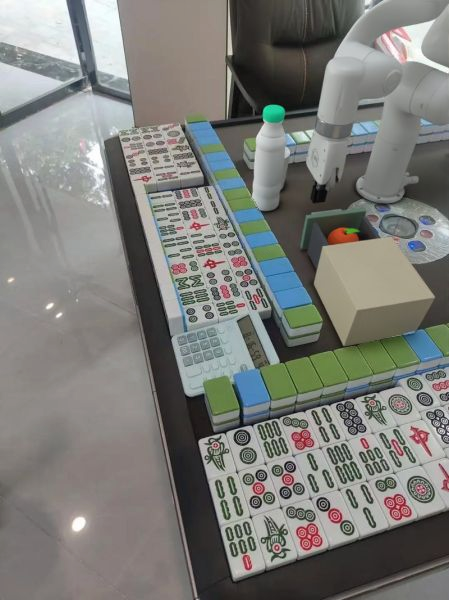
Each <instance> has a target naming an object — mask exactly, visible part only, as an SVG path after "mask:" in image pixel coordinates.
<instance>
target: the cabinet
mask: <svg viewBox="0 0 449 600" xmlns="http://www.w3.org/2000/svg"><path fill="white" fill-rule="evenodd" d="M313 286H314V288H315V290H316V292H317V294H318V296H319V298H320V300H321V302H322V304H323V306H324V308H325V310H326V312H327V315H328V316H329V317H328V318H329V319H330V321H331V324H332V325H333V327H334V329H335V331H336V333H337V336H338V337H339V339H340V342H341V344H342V346H343V347H349V346H354V345H360V344H366V343H371V342H370V341H372V342H376V341H375V340H377V341H381V340H380V339H383V338H387V337H392V336H396V335H402V334H404V333H407V332H411V331H416V330H418V328H419V327H420V326H421V323H422V321H423V320H424V318H425V317H426V315H427V313H428V312H429V310H430V308H431V306H432V304H433V302H434V300H435V299H436V296H435V295H434V293H433V292H432V291H431V289H430V288H429V287H428V285H427V284H426V283H425V281H424V280H423V278H422V277H421V275H420V274H419V273H418V271H417V269H416V268H415V267H414V266H413V264H412V262H411V261H410V260H409V258H408V257H407V255H406V254H405V253H404V252H403V250H402V249H401V248H400V246H399V244H398V243H397V242H396V241H395V239H394V237H393V236H387V237H380V238H379V239H372V240H365V241H357V242H350V243H343V244H336V245H329V246H323V247H322V252H321V256H320V260H319V264H318V268H317V270H316V272H315V277H314V281H313ZM416 332H417V331H416ZM383 340H384V339H383Z"/></svg>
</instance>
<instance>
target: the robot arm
mask: <svg viewBox="0 0 449 600" xmlns="http://www.w3.org/2000/svg"><path fill="white" fill-rule="evenodd" d="M431 21H432V24H431V26H430V27H429V29H428V30H427V32H426V34H425V35H424V37H423V39H422V42H421V46H420V49H421V54H422V55H423V57H425V58H426V59H427V60H428V61H431V62H433V63H435V64H437V65H440V66H442V67H445V68H448V69H449V0H381V1H379V2H378V3H377V4H375V5H374V6H372V7H371V8H370V9H368V10H366V12H364V13H363V14H362V15H360V17H359V18H357V20H356V21H355V22H354V24H353V25H352V26H351V28H350V29H349V31H348V32H347V34H346V35H345V37H344V38H343V40H342V41H341V43H340V44H339V46H338V48H337V50H336V51H335V54H334V56H333V58H330V60H329V61H328V62H327V64H326V66H325V69H324V70H325V71H324V76H323V81H322V86H321V91H320V98H319V104H318V109H317V113H316V119H315V125H314V128H313V132H312V135H311V137H310V142H309V146H308V151H307V155H306V160H305V164H306V166H307V168H308V170H309V172H310V174H311V175H312V177H313V178H312V184H313V185H312V188H311V192H310V198H309V199H310V201H311V202H312V204H320V203H325V202H326V200H327V196H328V192H334V191H335V186H336V184H339V183H340V182H341V179H342V177H343V173H344V169H345V165H346V158H347V153H348V146H349V139H350V138H351V136H352V132H353V128H354V124H355V120H356V116H357V112H358V109H359V104H360V101H363V100H375V99H382V98H384V99H383V107H382V113H381V117H380V121H379V125H378V128H377V132H376V136H375V139H374V142H373V146H372V149H371V153H370V157H369V160H368V164H367V167H366V170H365V173H364V174H363V175H362V176H360V177H359V178H357V181H356V182H355V183H356V184H355V189H356V191H357V193H358V195H360V196H361V197H362V198H364V199H366V200H368V201H370V202H372V203H373V202H374V203H377V204H391V203H396V202H398V201H401V199H402V198H403V196H405V192H406V189H405V187H406V186H408V185H414V184H418V183H419V180H420V178H419V176H418V175H413V176H410V173H409V172H408V171H407V169H408V167H409V164H410V161H411V158H412V156H413V153H414V150H415V147H416V145H417V142H418V140H419V136H420V134H421V129H422V120H423V121H426V122H427V123H430V124H432V125H435V126H439V127H440V126H441V127H442V126H447V125H448V124H449V73H448V72H445V71H443V70H440V69H439V68H436V67H434V66H431V65H428V64H425V63H423V62H420V61H415V60H408V61H404V62H402V63H401V62H400V61H399V59H398V58H396V57H395V56H393V55H390V54H388V53H386V52H383V51H380V50H379V49H376V48H373V47H371V45H373V43H374V42H375V41H377V39H379V38H380V37H382V36H383V35H385V34H387V33H389V32H391V31H393V30H397V29H400V28H404V27H410V26H416V25H419V24H425V23H430V22H431Z"/></svg>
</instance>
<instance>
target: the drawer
mask: <svg viewBox="0 0 449 600" xmlns="http://www.w3.org/2000/svg"><path fill="white" fill-rule="evenodd" d="M366 215H367V209H366V208H365V207H360V208H350V209H343V210H342V208H336V209H329V210H320V211H313V212H311V214H306V215H305V219H304V224H303V229H302V234H301V239H300V240H301V241H300V246H299V247H300V249H301V250H307V254H308V256H309V258H310V260H311V262H312V264H313V266H314V268H315V270H316V271H317V268H318V264H319V260H320V256H321V252H322V247H323V246H329V244H328V242H327V238H328V236H329V235H330V233H331V232H332V231H334V230H336V229H338V228H348V229H357V230H359V231H360V232H361V233H360V232H355V233H356V234H357V236H358V238H359V241H365V240H372V239H379V238H381V236H380V235H379V233H378V231H376V229H375V227H374V226H373V225H372V223H371V221H370V220H369V219H368V217H367V216H366ZM361 235H362V236H361Z"/></svg>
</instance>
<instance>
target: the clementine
mask: <svg viewBox="0 0 449 600" xmlns="http://www.w3.org/2000/svg"><path fill="white" fill-rule="evenodd" d="M355 232H360V231H359V230H357V229H348V228H338V229H336V230H334V231H332V232H331V233H330V235H329V236H328V238H327V242H328V244H329V245H336V244H343V243H350V242H357V241H359V238H358V236H357V234H356V233H355ZM360 233H361V232H360ZM361 236H362V235H361Z"/></svg>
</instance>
